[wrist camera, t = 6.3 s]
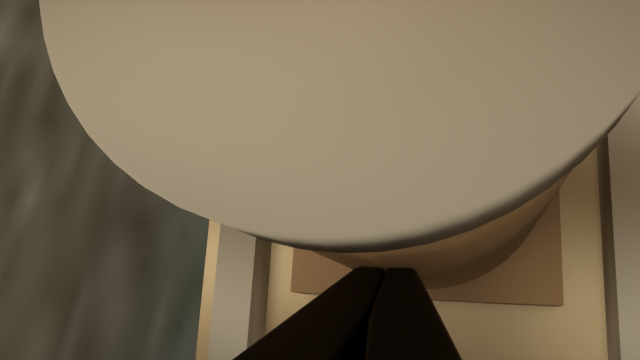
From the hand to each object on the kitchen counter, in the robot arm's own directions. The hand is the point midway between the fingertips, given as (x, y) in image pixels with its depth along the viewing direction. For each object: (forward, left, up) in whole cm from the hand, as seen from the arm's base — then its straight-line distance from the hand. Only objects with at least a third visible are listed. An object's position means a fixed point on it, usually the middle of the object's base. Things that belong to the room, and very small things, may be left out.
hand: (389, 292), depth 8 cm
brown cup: (+2, +2, -6) cm, 7 cm away
